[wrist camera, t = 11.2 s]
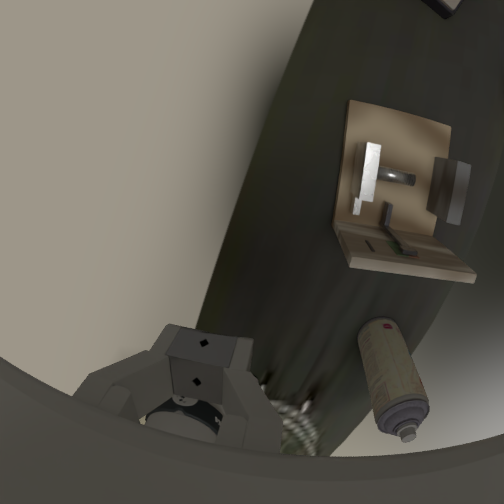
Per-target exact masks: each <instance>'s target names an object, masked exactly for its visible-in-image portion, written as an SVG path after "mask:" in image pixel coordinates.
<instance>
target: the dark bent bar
mask: <svg viewBox="0 0 504 504" xmlns="http://www.w3.org/2000/svg"><path fill="white" fill-rule="evenodd" d="M392 209H393V204H391V203H390V202H386V201H385V204H384V209H383V215H382V220H381V221H380V222H379V225H380V226H381V227H382V228H383V229H384V230H385V231H386V232H387V233H388V235H389V236H390V237H391V238H392V239H393V240H394V241H395V242H396V243H397V245H398V246H399V250H400V251H401V253H402V254H407V255H414V256H417V254H418V252H417V251H416V250H415V248H413V247H410V246H409V245H408V244H407V243H406V242H405V241H404V240H403V239H402V238H401V237H400V236H399V235H398V234H397V233H396V232H395V231H394V230H393V229H392V228H391V227H390V226H389V223H390V219H391V214H392Z"/></svg>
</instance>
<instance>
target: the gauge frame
mask: <svg viewBox="0 0 504 504" xmlns="http://www.w3.org/2000/svg"><path fill="white" fill-rule="evenodd" d="M450 134H451V127H450V126H447V125H444V124H441V123H438V122H435V121H432V120H429V119H426V118H422V117H419V116H416V115H412V114H409V113H405V112H401V111H397V110H394V109H390V108H386V107H381V106H377V105H373V104H368V103H364V102H359V101H354V100H349V101H348V102H347V113H346V123H345V133H344V141H343V150H342V158H341V166H340V173H339V180H338V187H337V194H336V200H335V207H334V213H333V219H332V225H331V226H332V228H333V229H334V231H335V233H336V236H337V238H338V240H339V243H340V245H341V248H342V250H343V252H344V255H345V257H346V260H347V262H348V265H349V267H351V268H359V269H367V270H374V271H382V272H389V273H397V274H405V275H412V276H420V277H428V278H436V279H443V280H451V281H459V282H466V283H474V281H475V279H476V276H477V274H476V273H475V272H474V271H473V270H472V269H471V268H469V267H468V266H467V265H466V264H465V263H464V262H463V261H462V260H460V259H459V258H458V257H457V256H456V255H455V254H453V253H452V252H451V251H450V250H449V249H448V248H446V247H445V246H444V245H443V244H442V243H440V242H439V241H438V240H437V239H435V238H434V237H433V232H434V228H435V223H436V219H437V217H439V218H440V219H442V220H443V221H445V222H447V223H451V224H456V225H460V221H461V217H462V213H463V208H464V203H465V199H466V193H467V188H468V182H469V177H470V170H471V165H469V164H466V163H463V162H460V161H456V160H451V159H448V152H449V144H450ZM357 142H369V143H373V144H378V145H381V151H380V158H379V166H384V167H388V168H393V169H398V170H402V171H406V172H411V173H414V174H415V175H416V182H415V185H414V186H413V187H410V186H405V185H401V184H396V183H391V182H386V181H381V180H376V185H375V191H374V197H373V202H369V201H363V200H362V203H361V209H360V214H359V215H354V214H352V213H351V211H350V210H351V204H352V198H353V194H352V193H351V192H350V190H351V183H352V177H353V170H354V162H355V155H356V147H357ZM385 201H386V202H390V203H391V204H393V209H392V214H391V219H390V223H389V226H390V227H391V228H392V229H393V230H394V231H395V232H396V233H397V234H398V235H399V236H400V237H401V238H402V239H403V240H404V241H405V242H406V243H407V244H408V245H409V246H410V247H413V248H415V250H416V251H417V252H418V254H417V256H414V255H407V254H402V253H401V251H400V250H399V246H398V245H397V243H396V242H395V241H394V240H393V239H392V238H391V237H390V236H389V235H388V233H387V232H386V231H385V230H384V229H383V228H382V227H381V226H380V225H379V222H380V221H381V220H382V215H383V209H384V204H385Z"/></svg>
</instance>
